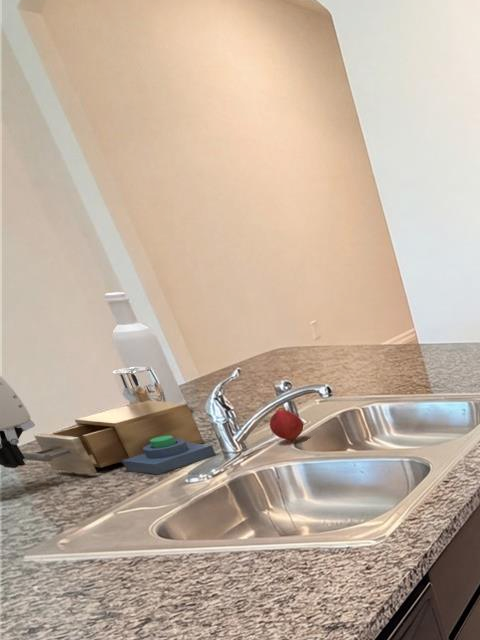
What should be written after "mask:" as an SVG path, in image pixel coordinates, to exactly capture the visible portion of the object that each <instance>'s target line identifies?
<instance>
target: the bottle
mask: <svg viewBox="0 0 480 640" xmlns="http://www.w3.org/2000/svg"><path fill="white" fill-rule="evenodd" d="M103 296H104V298H105V299H104V300H105V303H107V305H108V307H109V309H110V311H111V313H112V315H113V318H114V320H115V321H116V324H117V325H116V327H115V328H114V329H113V330H112V336H111V337H112V342H113V345H114V347H115V349H116V351H117V353H118V356H119V357H120V360H121V362H122V364H123V366H124V368H129V367H137V366H151V367H152V369H153V371H154V372H155V374H156V376H157V378H158V379H159V381H160V383H161V386H162V388H163V391H164V395H165V399H166V402H173V403H185V404H187V405H188V403H187V401H186V399H185V397H184V394H183V393H182V390H181V389H180V386H179V384H178V381H177V379H176V377H175V375H174V373H173V370H172V369H171V365H170V363H169V361H168V359H167V357H166V354H165V352H164V349H163V347H162V346H161V343H160V341H159V339H158V336H157V335H156V333H155V332H154V331H153V330H152V329H151V328H150V327H149V326H146V325H145V324H143V323H140V322H139V320H138V319H137V316H136V314H135V311H134V309H133V307H132V305H131V303H130V298H129V297H128V296H127V294H126V292H122V291H119V292H118V291H115V292H107V293H105V294H104V295H103Z"/></svg>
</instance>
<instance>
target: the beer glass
mask: <svg viewBox="0 0 480 640" xmlns="http://www.w3.org/2000/svg"><path fill="white" fill-rule="evenodd" d="M112 374H113V376H114V379H115V382H116V385H117V387H118V389H119V392H120V393H121V395H122V397H123V400H125V401H126V403H127V404H128V406H129V405H133V404H137V403H141V402H144V401H160V402H166V399H165V395H164V391H163V388H162V386H161V383H160V381H159V379H158V378H157V376H156V374H155V372H154V371H153V369H152V367H151V366H137V367H129V368H125V367H124V368H119V369H115V370H114V371H112Z"/></svg>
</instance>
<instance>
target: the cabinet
mask: <svg viewBox="0 0 480 640" xmlns="http://www.w3.org/2000/svg"><path fill="white" fill-rule="evenodd" d="M74 421H75V425H76V426H80V425H83V424H91V425H102V426H112V427H115V429H116V432H117V434H118V436H119V438H120V440H121V442H122V444H123V446H124V448H125V450H126V452H127V454H128V456H129V458H132V457H135V456H138V455H141V454H144V453H145V452H144V450H143V447H145V446H147V445H149V444H151V443H150V440H151V439H153V438H156V437H161V436H173V438H174V439H183V440H185V442H186V443H194V444H204V443H205V441H204V439H203V437H202V434H201V432H200V430H199V428H198V425H197V422H196V420H195V419H194V416H193V413H192V411H191V409H190V407H189V404H188V403H187V404H185V403H173V402H160V401H144V402H141V403H137V404H133V405H129V404H128V405H125V406H122V407H121V406H120V407H117V408H113V409H110V410H106V411H102V412H98V413H94V414H90V415H85V416H83V417H79V418H74ZM117 464H123V462H122V461H121V462H118V463H117Z"/></svg>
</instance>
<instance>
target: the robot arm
mask: <svg viewBox="0 0 480 640" xmlns="http://www.w3.org/2000/svg"><path fill="white" fill-rule="evenodd" d="M34 427H35V423H34V421H33V420H32V419H31V415H30V412H29V411H28V409H27V407H26V406H25V404H24V402H23V401H22V400H21V398H20V396H19V395H18V394H17V392H16V391H15V390H14V388H13V387H12V386H11V385H10V384H9V382H8V381H7V380H6V379H5V378H4V376H2V375H1V374H0V466H3V467H4V468H10V469H16V468H18V467H23V466H25V465H26V462H25V460H26V459H25V458H24V456H23V454H22V453H23V452H22V451H21V449H20V448H19V445H18V444H19V442H20V437H21V436H22V433H24V432H26V431H29V430H30V429H32V428H34Z"/></svg>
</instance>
